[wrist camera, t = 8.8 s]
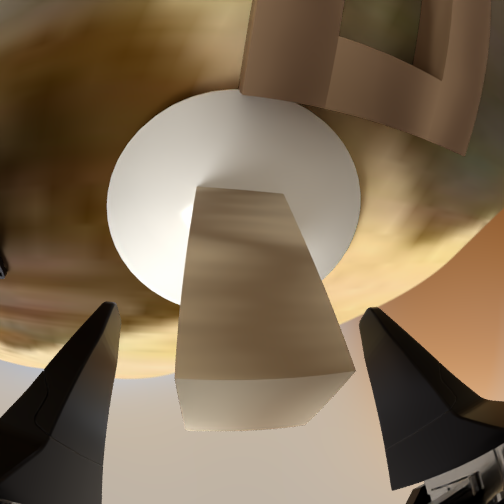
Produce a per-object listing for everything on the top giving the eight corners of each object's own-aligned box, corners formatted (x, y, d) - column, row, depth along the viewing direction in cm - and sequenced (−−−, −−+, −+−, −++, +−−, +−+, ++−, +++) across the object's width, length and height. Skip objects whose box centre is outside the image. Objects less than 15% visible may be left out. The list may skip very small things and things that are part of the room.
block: (193, 256, 14) (185, 430, 7) (196, 186, 12) (174, 378, 5) (268, 260, 15) (304, 424, 8) (283, 193, 13) (356, 370, 6)
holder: (238, 90, 10) (242, 95, 8) (273, -97, 4) (283, -120, 2) (436, 140, 12) (464, 156, 10) (461, -14, 6) (490, -15, 4)
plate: (128, 299, 17) (126, 308, 16) (106, 87, 9) (99, 89, 9) (317, 305, 19) (320, 313, 19) (382, 118, 11) (390, 122, 11)
